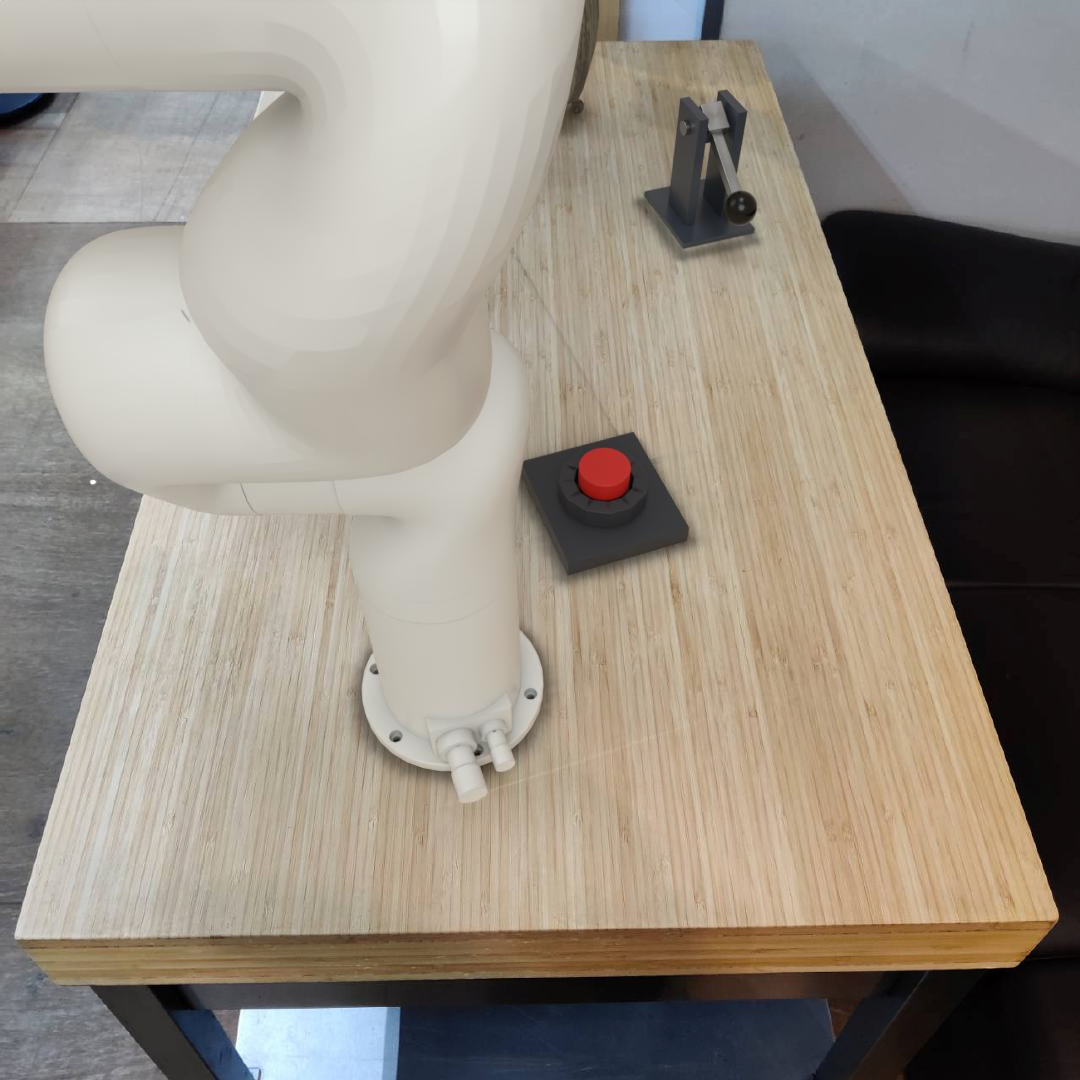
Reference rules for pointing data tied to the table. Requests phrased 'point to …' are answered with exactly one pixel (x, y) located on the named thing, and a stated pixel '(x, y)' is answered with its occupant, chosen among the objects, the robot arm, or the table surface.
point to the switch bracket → (689, 198)
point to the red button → (604, 474)
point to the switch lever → (727, 167)
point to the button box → (603, 508)
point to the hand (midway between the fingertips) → (441, 85)
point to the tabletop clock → (584, 53)
